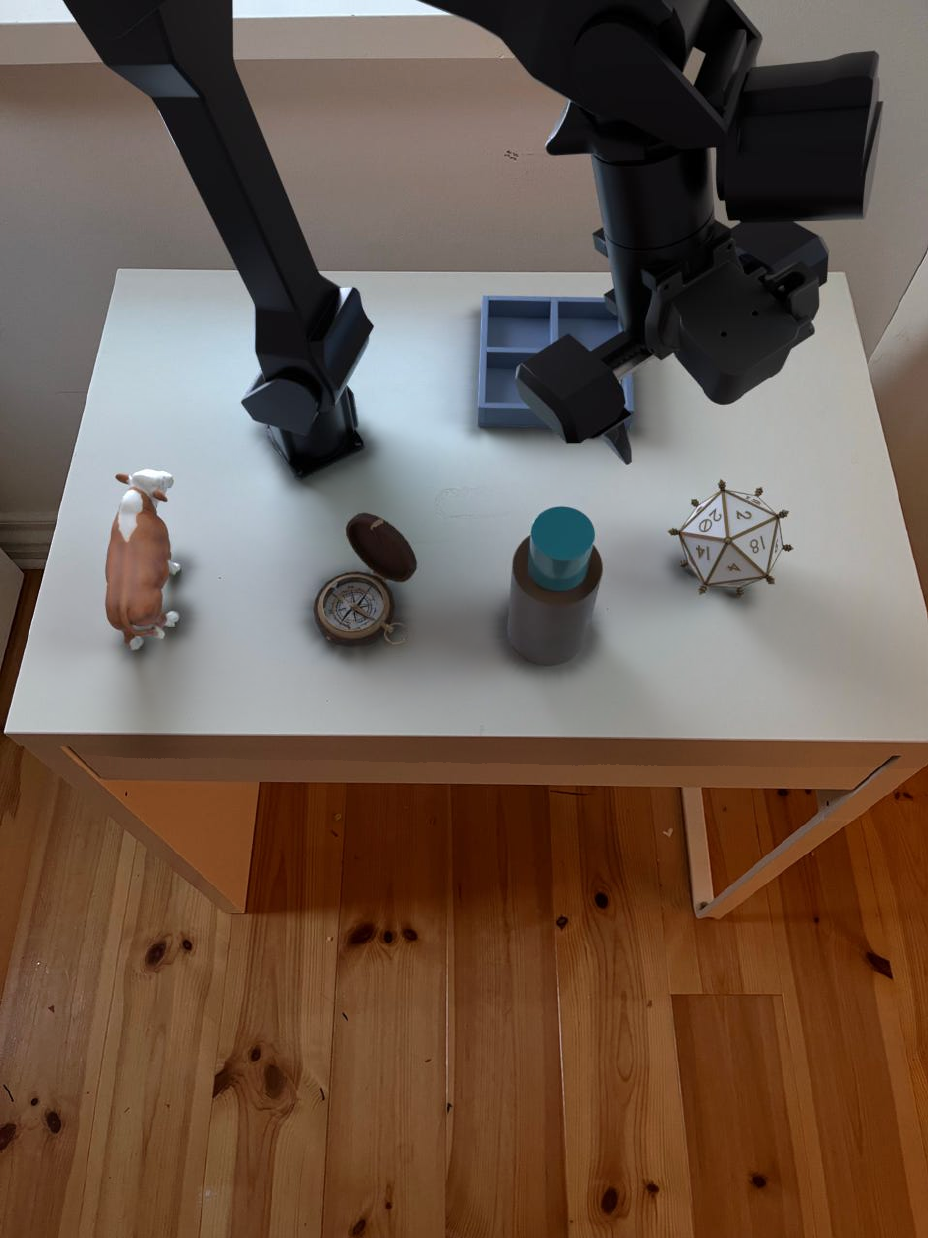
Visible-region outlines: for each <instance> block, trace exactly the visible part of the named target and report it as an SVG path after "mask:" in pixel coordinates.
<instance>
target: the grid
mask: <svg viewBox="0 0 928 1238" xmlns="http://www.w3.org/2000/svg"><path fill="white" fill-rule="evenodd" d="M621 331H622V329H621V326H620V321H619V318H618V317H617V316H616V315H614V314H613V313H612V312H610V311H609V310H608V309H607V308H606V304H605V299H604V297H600V296H599V297H598V296H597V297H596V296H595V297H593V296H542V295H541V296H537V295H535V296H533V295H482V296H481V317H480V346H479V371H478V372H479V373H478V397H477V398H478V400H477V427H494V428H495V427H497V428H498V427H499V428H537V429H538V428H539V429H540V428H541V429H542V428H543V429H551V428H550V427H549V426H548V425H547V424H546V423H545V422H544V421H543V420H542V419H541V418H540V417H539V416H538V415H537V414H536V413H535V412H534V411H533V410H531V409H530V408H529V407H528V406H527V405H526V404H525V403H524V402H523V401H522V400H521V398H520V395H519V391H518V388H517V385H516V382H515V376H516V370H517V367H518V366H519V365H520V364H521V363H522V362H524V361H526V360H527V359H529V358H530V357H532V356H533V355H535V354H536V353H538V352H540V351H541V350H543V349H544V348H546V347H547V346H549V345H550V344H552V343H554V342H555V341H557V340H558V339H560V338H561V337H563V336H564V335H566V334H568V333H569V334H570V335H572V336H573V337H574V338H575V339H576V340H577V341H579V342H580V343H581V344H582V345H583V346H585V347H586V348H587V349H588V350H589V351H592V350H593V349H595V348H597V347H598V346H600V345H601V344H603V343H604V342H606V341H607V340H609V339H611V338H612V337H614V336H615V335H617V334H618V333H620V332H621ZM619 383H620V384H621V386H622V388H623V390H624V395H625V401H626V403H625V405H624V407H625V408H626V409H627V410H628V411H629V412H630V413H631V414H632V416H631V417H629V418H628V419H626V420H625V421H624V423H625V426H626V430H631V427H632V423H633V418H634V413H635V401H634V400H635V399H634V386H633V384H634V383H633V372H632V373H631V374H629V375H628V376H626V377H625V378H623V379H622V380H620V381H619Z"/></svg>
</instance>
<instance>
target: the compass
mask: <svg viewBox="0 0 928 1238" xmlns="http://www.w3.org/2000/svg"><path fill="white" fill-rule="evenodd" d="M345 534H346V538H347V541H348V543H349V545H350V547H351V549H352V550H353V551H354V553H355V554H356V556H357V557H358V558H359V559H360V561H361V562H362V563H363V564H365V565H366V566H367V567H368V568H369V569H370V570H372V572H371V573H369V572H364V571H348V572H344V573H341V574H338V575H335V576H334V577H333V578H331V579H330V580H328V581H327V582H326V583H324V584H323V586H322V587H321V588H320V589H319V591H318V593H317V595H316V597H315V599H314V604H313V615H314V619H315V624H316V625H317V627H318V628H319V630H320V632H321V633H322V635H324V636H325V637H326V638H325V639H327V640H328V641H329V642H330V641H332V642H334V643H336V644H338V645H343V646H348V647H358V646H365V645H367V644H370V643H373V642H374V641H376V640H378V639H379V638H380V637H382V636H383V637H384V639H385V641H386V642H388V644H391V645H394V646H395V645H398V646H399V645H401V644H403V643H405V642H406V641H407V639H408V638H409V636H410V634H409V633H410V631H409V628H408V626H406V625H405V624H404V623H402V622H393V621H394V618H395V610H396V603H395V599H394V595H393V591H392V590H391V589H390V587H389V586H388V584H387V583H386V582H387V580H388V581H391V582H395V583H405V582H406V581H409V580H410V578H412V576H413V575H415V573H416V571H417V569H418V560H417V556H416V554H415V551H414V550H413V548H412V546H411V544H410V543H409V541H408V540H407V539H406V537H405V536H404V535H403V533H401V532H400V531H399V529H397V528H396V527H395V526H394V525H393V524H391V523H390V522H389V521H387V520H385V519H384V518H382V517H381V516H379V515H376V514H374V513H368V512H359V513H357V514H355V515H354V516H353V517H351V519H349V520H348V521H347V524H346V526H345ZM395 625H400V626H402V627H403V628H404V629H405V631H406V636H405V638H404V639H403V640H401V641H399V642H393V641H390V640H389V639H388V637H387V633H389V634H393V633H394V630H395V628H394V627H393V626H395Z"/></svg>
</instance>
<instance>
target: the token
mask: <svg viewBox="0 0 928 1238" xmlns="http://www.w3.org/2000/svg"><path fill="white" fill-rule="evenodd" d="M529 535H530V544H529V553H528V571H529V574H530V576H531V577H532V579H533V580H534V581H535V582H536V583H537V584H538V585H540V586H541V587H543V588H545V589H547V590H551V591H567V590H570V589H573V588H575V587H576V586H578V585H579V584H580V583H581V582H582V581H583V580H584V578H585V577H586V574H587V571H588V566H589V562H590V557H591V553H592V549H593V544H594V543H595V538H596V530H595V527H594V523H592V521H591V519H590V518H589V517H588V516H587V514H585V513H584V512H582V511H580V510H578V509H577V508H574V507H570V506H563V505H562V506H561V505H560V506H559V505H558V506H552V507H550V508H549V507H548V508H547V509H545V510H543V511H541V512H540V513H539V514H538V515H537V516H536V517H535V519H534V520H533V521H532V524H531V527H530V534H529ZM594 545H595V544H594Z"/></svg>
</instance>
